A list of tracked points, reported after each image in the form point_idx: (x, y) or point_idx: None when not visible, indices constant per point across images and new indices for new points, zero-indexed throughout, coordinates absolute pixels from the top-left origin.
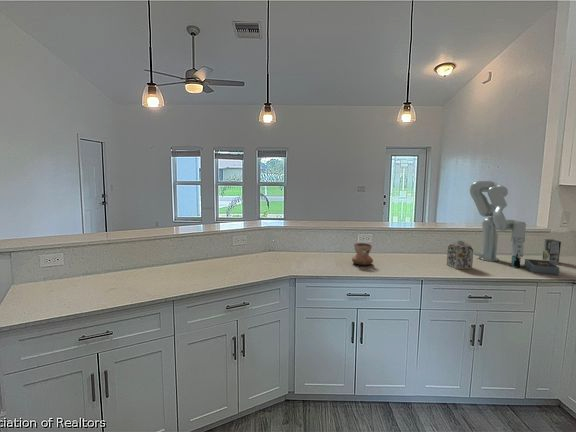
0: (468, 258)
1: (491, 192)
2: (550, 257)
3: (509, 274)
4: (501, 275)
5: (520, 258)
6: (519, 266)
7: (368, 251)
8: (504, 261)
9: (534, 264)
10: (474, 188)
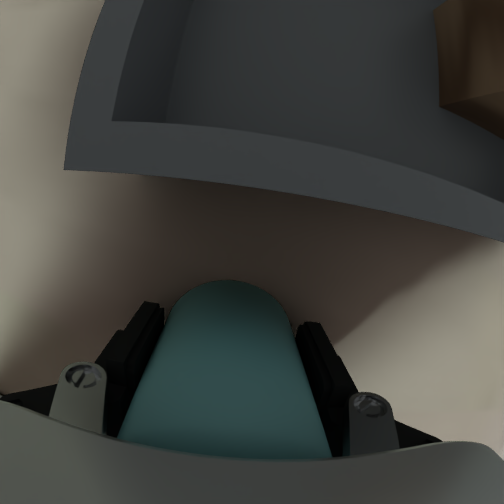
0: None
1: None
2: None
3: (497, 419)
4: (494, 447)
5: (274, 399)
6: (317, 322)
7: None
8: (5, 355)
9: (182, 12)
10: None
